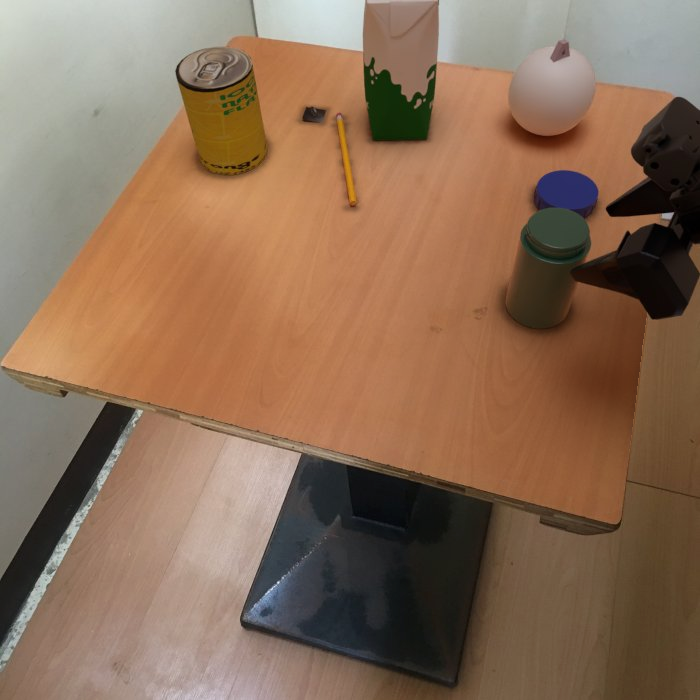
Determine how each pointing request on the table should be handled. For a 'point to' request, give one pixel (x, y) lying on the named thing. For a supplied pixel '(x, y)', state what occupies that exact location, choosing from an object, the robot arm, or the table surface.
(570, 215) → the jar
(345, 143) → the pencil
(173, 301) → the table surface
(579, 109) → the ornament
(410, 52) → the soya milk
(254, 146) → the beverage can
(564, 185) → the lid
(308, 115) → the dark square tile
